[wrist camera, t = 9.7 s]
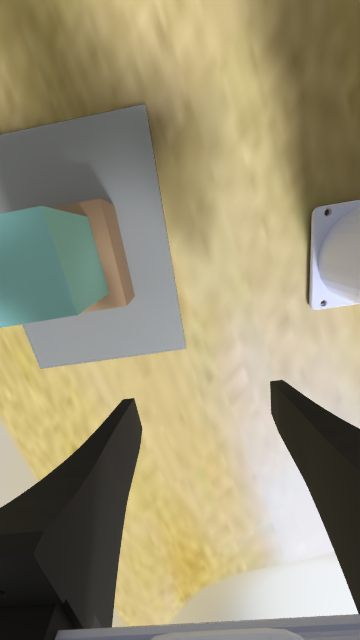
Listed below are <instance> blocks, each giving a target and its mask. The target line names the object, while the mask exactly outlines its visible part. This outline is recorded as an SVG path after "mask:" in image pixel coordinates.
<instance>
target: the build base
mask: <svg viewBox="0 0 360 640" xmlns="http://www.w3.org/2000/svg"><path fill="white" fill-rule="evenodd" d="M38 206H45V207H49V208H53V209H57V210H61V211H66V212H70V213H74V214H78V215H82V216H87V217H88V219H89V223H90V227H91V230H92V234H93V237H94V241H95V245H96V248H97V252H98V255H99V259H100V263H101V266H102V270H103V273H104V277H105V280H106V284H107V288H108V291H109V293H108V294H107V295H106V296H104V297H103V298H101V299H100V300H99V301H97V302H96V303H94V304H93V305H92V306H90V307H89V308H87V309H86V310H84V311H83V312H82V313H80V314H79V315H75V316H69V317H63V318H57V319H51V320H45V321H39V322H33V323H27V324H22V325H23V328H24V330H25V333H26V335H27V337H28V340H29V342H30V345H31V347H32V350H33V352H34V354H35V357H36V359H37V362H38V364H39V366H40V369H43V368H50V367H57V366H65V365H72V364H79V363H87V362H94V361H101V360H109V359H116V358H123V357H131V356H138V355H145V354H153V353H160V352H167V351H175V350H182V349H186V344H185V338H184V332H183V326H182V320H181V314H180V308H179V302H178V296H177V290H176V284H175V278H174V272H173V266H172V260H171V254H170V248H169V242H168V236H167V230H166V224H165V218H164V212H163V206H162V200H161V194H160V188H159V182H158V176H157V170H156V164H155V158H154V152H153V146H152V140H151V134H150V128H149V122H148V116H147V110H146V106H145V104H142V105H137V106H132V107H128V108H123V109H118V110H113V111H109V112H104V113H99V114H95V115H90V116H85V117H81V118H76V119H71V120H66V121H62V122H57V123H52V124H48V125H43V126H38V127H34V128H29V129H24V130H19V131H15V132H10V133H5V134H1V135H0V214H3V213H8V212H13V211H18V210H23V209H28V208H33V207H38Z"/></svg>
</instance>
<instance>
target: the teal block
mask: <svg viewBox="0 0 360 640" xmlns="http://www.w3.org/2000/svg"><path fill="white" fill-rule="evenodd" d="M108 293H109V291H108V288H107V284H106V280H105V277H104V273H103V270H102V266H101V263H100V259H99V255H98V252H97V248H96V245H95V241H94V237H93V234H92V230H91V227H90V223H89V219H88V217H87V216H82V215H78V214H74V213H70V212H66V211H61V210H57V209H53V208H49V207H45V206H38V207H33V208H28V209H23V210H18V211H13V212H8V213H3V214H0V328H2V327H8V326H14V325H21V324H27V323H33V322H39V321H45V320H51V319H57V318H63V317H69V316H75V315H79V314H80V313H82V312H83V311H84V310H86V309H87V308H89V307H90V306H92V305H93V304H94V303H96V302H97V301H99V300H100V299H101V298H103V297H104V296H106V295H107V294H108Z"/></svg>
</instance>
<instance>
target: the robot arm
mask: <svg viewBox="0 0 360 640" xmlns="http://www.w3.org/2000/svg"><path fill="white" fill-rule="evenodd" d="M326 209H327V210H328V212H329V213H328V215H327V216H325V214H324V212H325V210H326ZM323 300H324V304H323V305H321V302H322V301H323ZM354 304H360V200H354V201H349V202H343V203H337V204H331V205H325V206H320V207H317V208H315V209H314V210H313V212H312V221H311V259H310V296H309V305H310V307H311V308H312V309H314V310H319V309H326V308H333V307H340V306H347V305H354ZM270 388H271V414H272V416H273V419H274V421H275V424H276V427H277V429H278V431H279V434H280V435H281V437H282V439H283V441H284V443H285V445H286V447H287V449H288V451H289V452H290V454H291V456H292V458H293V460H294V462H295V463H296V465H297V467H298V469H299V471H300V473H301V475H302V476H303V478H304V480H305V483H306V485H307V487H308V489H309V491H310V493H311V496H312V498H313V500H314V503H315V505H316V507H317V510H318V512H319V514H320V517H321V519H322V521H323V524H324V526H325V529H326V531H327V533H328V536H329V538H330V541H331V543H332V546H333V548H334V551H335V553H336V555H337V558H338V561H339V563H340V566H341V568H342V571H343V573H344V576H345V579H346V581H347V584H348V586H349V589H350V592H351V595H352V597H353V600H354V602H355V605H356V608H357V610H358V613H359V614H356V615H355V614H354V615H336V616H317V617H301V618H300V617H299V618H280V619H262V620H244V621H226V622H207V623H189V624H169V625H150V626H132V627H115V628H112V619H113V609H114V599H115V589H116V580H117V571H118V563H119V554H120V547H121V540H122V532H123V525H124V519H125V512H126V505H127V500H128V495H129V491H130V487H131V483H132V479H133V475H134V470H135V466H136V462H137V458H138V454H139V449H140V443H141V435H142V426H141V422H140V418H139V414H138V411H137V407H136V403H135V400H134V398H132V399H124V400H122V401H121V402H120V404H119V405H118V406H117V407H116V408H115V410H114V411H113V412H112V413H111V414H110V415H109V417H108V418H107V419H106V420H105V421H104V422H103V423H102V425H101V426H100V427H99V428H98V429H97V430H96V431H95V432H94V433H93V434H92V435H91V436H90V437H89V438H88V440H87V441H86V442H85V443H84V444H83V445H82V446H81V447H80V448H79V449H77V450H76V451H75V452H74V453H73V454H72V455H71V456H70V457H69V458H68V459H66V460H65V461H64V462H63V463H62V464H61V465H59V466H58V467H57V468H56V469H54V470H53V471H52V472H51V473H49V474H48V475H47V476H46V477H44V478H43V479H42V480H41V481H39V482H38V483H36V484H35V485H34V486H32V487H31V488H30V489H28V490H27V491H25V492H24V493H22V494H21V495H20V496H18V497H17V498H15V499H14V500H12V501H11V502H9V503H7V504H6V505H4V506H3V507H1V508H0V640H360V429H359V428H357V427H355V426H353V425H351V424H350V423H348V422H346V421H344V420H342V419H340V418H339V417H337V416H335V415H334V414H332V413H330V412H329V411H327V410H325V409H324V408H322V407H321V406H319V405H318V404H316V403H315V402H313V401H312V400H310V399H309V398H307V397H306V396H304V395H303V394H301V393H300V392H299V391H297V390H296V389H294V388H293V387H292V386H290V385H289V384H288V383H286V382H285V381H283V380H278V381H270Z"/></svg>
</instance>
